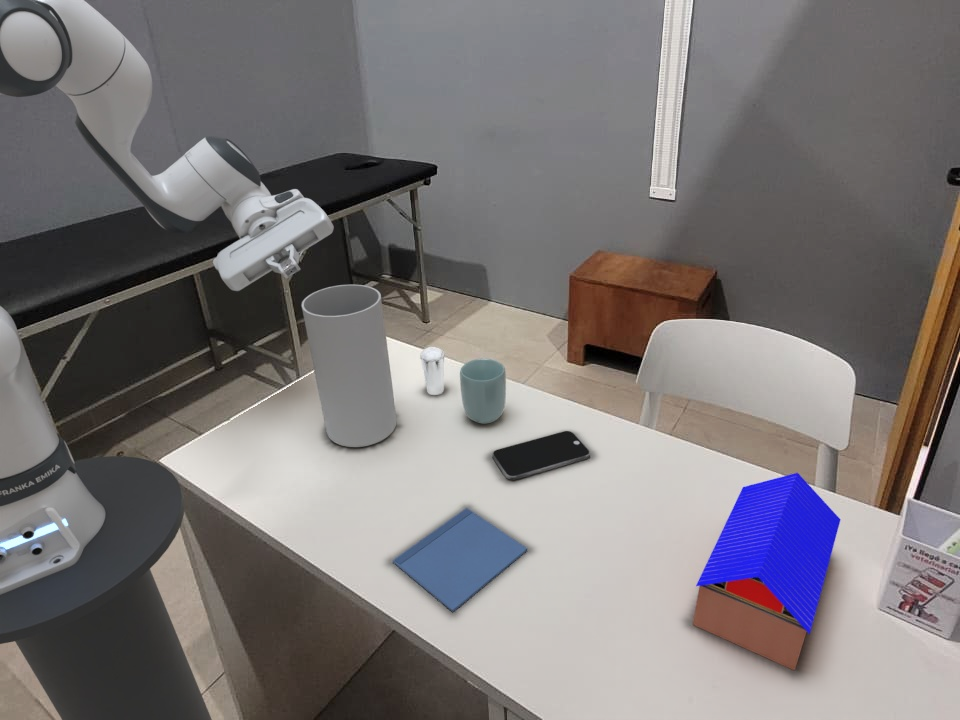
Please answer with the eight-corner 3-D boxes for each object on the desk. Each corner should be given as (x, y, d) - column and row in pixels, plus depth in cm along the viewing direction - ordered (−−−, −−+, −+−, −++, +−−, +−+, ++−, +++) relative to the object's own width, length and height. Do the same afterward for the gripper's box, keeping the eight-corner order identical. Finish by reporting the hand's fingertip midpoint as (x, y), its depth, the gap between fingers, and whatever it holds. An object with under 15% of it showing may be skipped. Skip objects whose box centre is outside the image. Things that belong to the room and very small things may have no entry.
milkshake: (438, 401, 122) (434, 355, 117) (418, 391, 126) (414, 346, 121) (455, 391, 125) (451, 345, 120) (435, 382, 128) (431, 337, 124)
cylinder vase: (318, 449, 111) (291, 317, 98) (336, 408, 122) (313, 285, 109) (391, 449, 110) (372, 316, 98) (402, 408, 121) (386, 283, 109)
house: (689, 625, 77) (701, 554, 72) (735, 523, 92) (748, 457, 86) (797, 674, 71) (819, 601, 66) (828, 557, 85) (850, 488, 80)
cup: (487, 434, 112) (485, 385, 108) (454, 419, 117) (450, 371, 112) (514, 414, 117) (514, 366, 113) (482, 400, 122) (480, 354, 117)
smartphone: (593, 454, 105) (508, 478, 101) (592, 457, 106) (508, 482, 101) (570, 428, 112) (489, 450, 107) (570, 432, 112) (490, 454, 107)
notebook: (452, 612, 80) (452, 609, 80) (392, 562, 88) (392, 559, 88) (527, 550, 89) (527, 547, 89) (466, 509, 96) (466, 507, 96)
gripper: (199, 246, 109) (224, 294, 101) (304, 183, 112) (336, 225, 104) (220, 270, 114) (245, 317, 106) (319, 209, 117) (351, 251, 109)
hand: (291, 271), depth 105 cm, fingers closed
